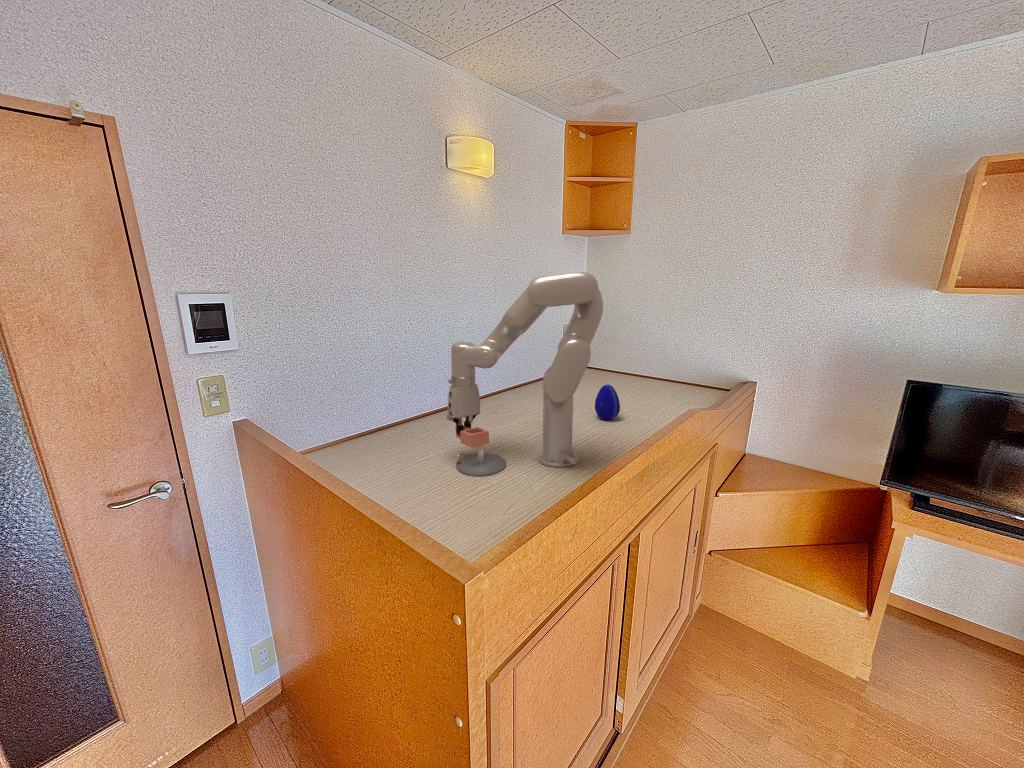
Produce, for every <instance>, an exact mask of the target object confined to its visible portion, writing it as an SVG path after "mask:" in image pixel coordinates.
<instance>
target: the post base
mask: <svg viewBox="0 0 1024 768" xmlns="http://www.w3.org/2000/svg"><path fill="white" fill-rule="evenodd" d="M506 467H507V461H506V459H505V458H504V457H503V456H501V455H498V454H496V453H491V452H484V445H480V446H477V452H476V453H475V452H474V453H470V454H467V455H463V456H462V457H460V464H457V461H456V462H455V469H456V471H458V472H459V473H460V474H462V475H465V476H468V477H469V476H470V477H478V478H479V477H481V478H482V477H489V476H493V475H496V474H499V473H501V472H502V471H504V470H505V468H506Z"/></svg>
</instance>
